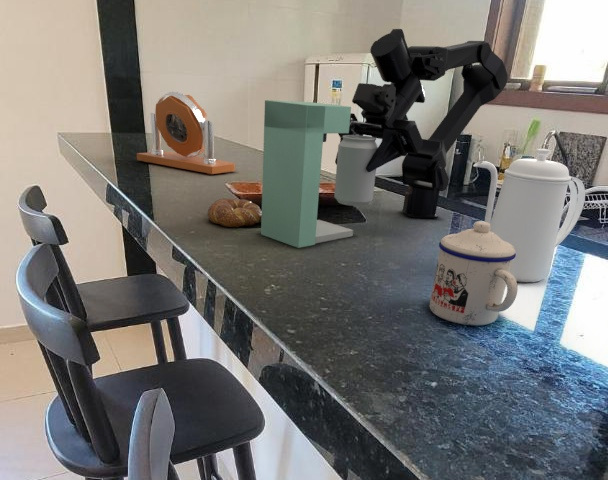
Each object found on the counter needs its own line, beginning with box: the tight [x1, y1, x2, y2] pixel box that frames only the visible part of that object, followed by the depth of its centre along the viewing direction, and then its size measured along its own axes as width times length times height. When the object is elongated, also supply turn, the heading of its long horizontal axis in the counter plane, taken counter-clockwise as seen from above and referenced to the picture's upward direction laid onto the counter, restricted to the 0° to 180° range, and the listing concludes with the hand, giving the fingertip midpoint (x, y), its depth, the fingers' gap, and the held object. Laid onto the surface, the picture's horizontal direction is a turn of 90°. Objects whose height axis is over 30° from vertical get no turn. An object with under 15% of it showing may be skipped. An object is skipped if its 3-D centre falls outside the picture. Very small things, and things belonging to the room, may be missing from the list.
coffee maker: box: [260, 99, 354, 249], centre depth 93 cm, size 14×10×22 cm
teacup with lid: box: [429, 220, 519, 326], centre depth 65 cm, size 12×9×12 cm
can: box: [333, 135, 379, 207], centre depth 100 cm, size 8×8×12 cm
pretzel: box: [207, 197, 262, 228], centre depth 103 cm, size 12×11×4 cm
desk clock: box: [136, 91, 236, 176], centre depth 154 cm, size 12×30×20 cm, turn 58°
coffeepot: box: [472, 148, 586, 283], centre depth 81 cm, size 11×25×19 cm, turn 117°
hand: (351, 167), depth 99 cm, fingers closed on can, 7 cm apart
